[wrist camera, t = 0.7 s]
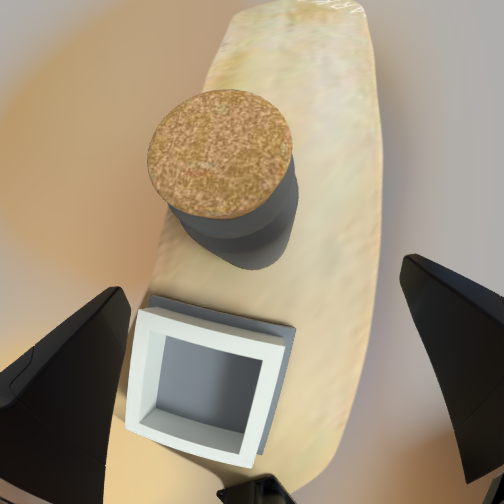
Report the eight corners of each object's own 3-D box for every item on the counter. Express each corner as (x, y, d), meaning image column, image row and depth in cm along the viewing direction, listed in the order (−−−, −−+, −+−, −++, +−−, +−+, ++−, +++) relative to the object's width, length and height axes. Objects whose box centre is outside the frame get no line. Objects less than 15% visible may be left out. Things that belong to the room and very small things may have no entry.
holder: (262, 449, 20) (259, 477, 16) (138, 413, 22) (116, 432, 17) (295, 327, 22) (300, 337, 17) (155, 294, 23) (131, 295, 18)
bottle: (300, 219, 23) (337, 110, 8) (268, 283, 22) (255, 272, 8) (238, 189, 24) (190, 63, 9) (205, 250, 23) (102, 190, 8)
